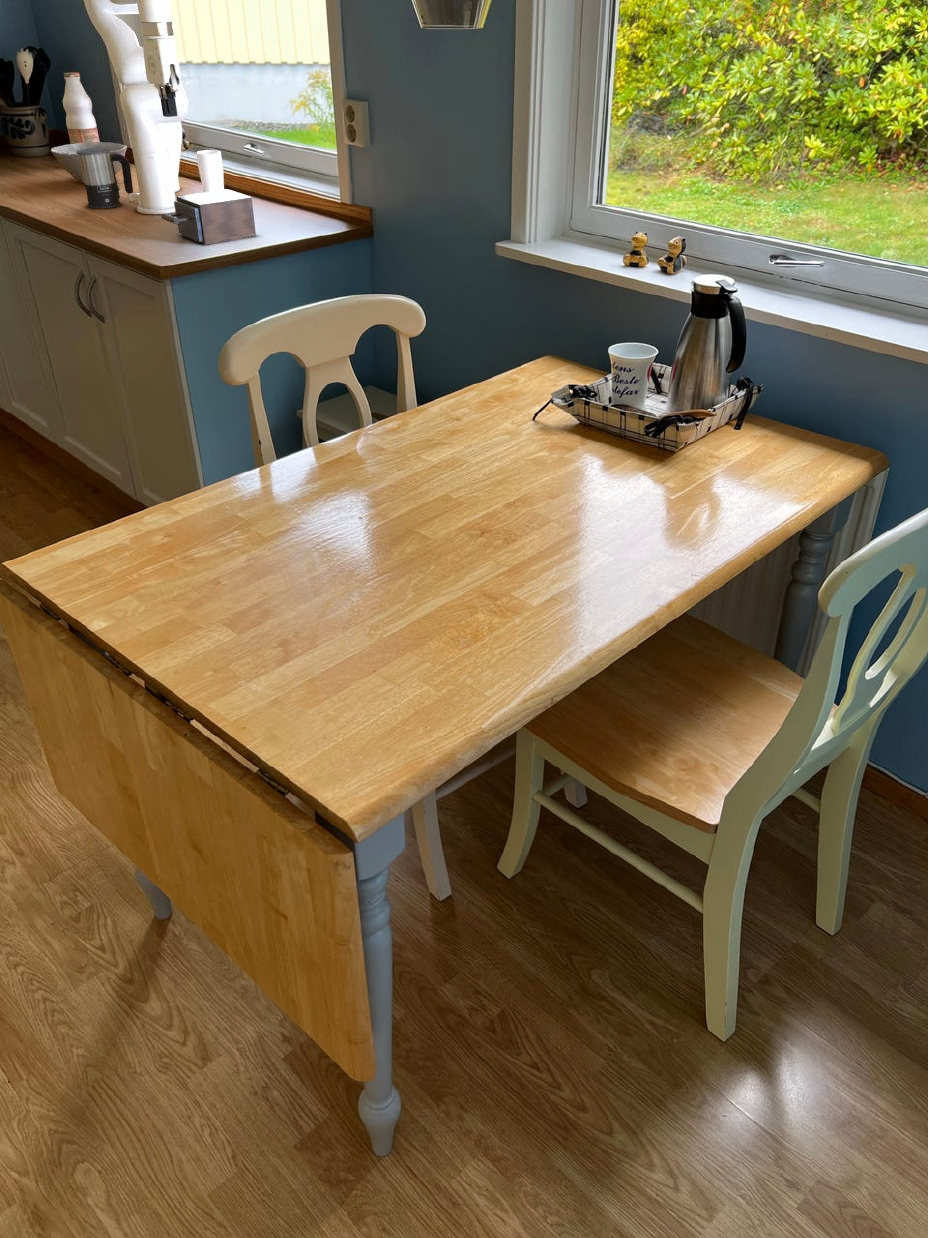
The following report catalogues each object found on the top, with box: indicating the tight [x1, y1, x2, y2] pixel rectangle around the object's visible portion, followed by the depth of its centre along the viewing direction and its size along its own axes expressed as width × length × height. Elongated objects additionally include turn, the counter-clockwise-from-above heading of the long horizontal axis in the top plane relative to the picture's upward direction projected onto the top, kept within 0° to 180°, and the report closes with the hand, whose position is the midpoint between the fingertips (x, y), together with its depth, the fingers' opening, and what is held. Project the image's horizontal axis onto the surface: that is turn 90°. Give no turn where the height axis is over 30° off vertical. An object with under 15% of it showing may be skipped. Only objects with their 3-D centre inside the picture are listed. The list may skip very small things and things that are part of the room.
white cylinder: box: [196, 149, 225, 193], centre depth 274 cm, size 7×7×15 cm
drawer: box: [160, 200, 203, 243], centre depth 247 cm, size 18×11×8 cm, turn 130°
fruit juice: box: [62, 71, 100, 144], centre depth 324 cm, size 9×9×28 cm
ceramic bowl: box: [50, 141, 128, 183], centre depth 307 cm, size 22×23×10 cm
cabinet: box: [176, 189, 257, 246], centre depth 250 cm, size 15×13×10 cm
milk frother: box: [76, 148, 134, 209], centre depth 280 cm, size 14×16×15 cm
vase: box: [154, 121, 183, 193], centre depth 292 cm, size 15×15×29 cm
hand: (170, 115), depth 242 cm, fingers closed
